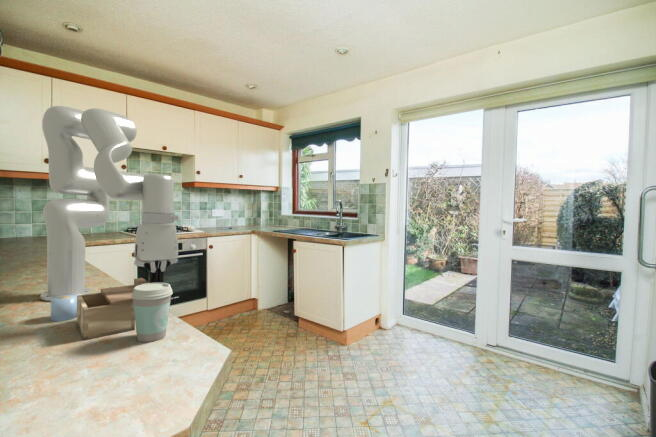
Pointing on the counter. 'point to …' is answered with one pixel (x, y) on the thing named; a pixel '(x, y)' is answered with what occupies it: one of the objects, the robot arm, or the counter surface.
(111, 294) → the lid
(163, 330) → the coffee cup
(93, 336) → the crate
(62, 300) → the pale blue rounded block
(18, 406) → the counter surface
